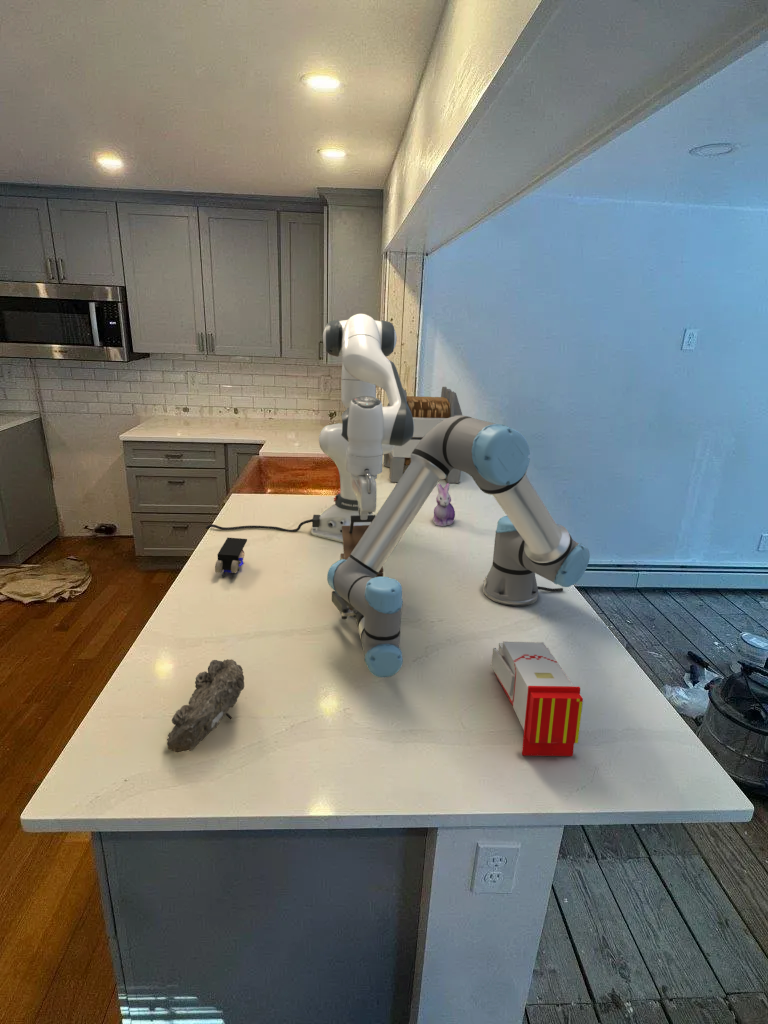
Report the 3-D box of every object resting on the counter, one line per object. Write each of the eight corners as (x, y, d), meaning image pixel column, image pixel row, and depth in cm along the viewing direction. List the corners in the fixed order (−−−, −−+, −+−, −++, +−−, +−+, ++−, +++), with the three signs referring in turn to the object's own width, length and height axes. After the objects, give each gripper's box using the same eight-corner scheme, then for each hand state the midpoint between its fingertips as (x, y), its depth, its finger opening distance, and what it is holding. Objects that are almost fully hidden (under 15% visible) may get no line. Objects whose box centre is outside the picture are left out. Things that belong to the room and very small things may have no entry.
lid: (341, 527, 151) (343, 510, 144) (377, 527, 153) (381, 509, 146) (345, 573, 143) (348, 557, 137) (383, 572, 145) (387, 556, 138)
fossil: (192, 660, 117) (244, 628, 112) (224, 691, 120) (276, 661, 115) (142, 746, 98) (202, 712, 93) (182, 779, 101) (242, 748, 96)
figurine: (440, 528, 206) (443, 489, 201) (425, 519, 214) (428, 481, 209) (461, 525, 210) (465, 486, 205) (446, 516, 219) (449, 478, 214)
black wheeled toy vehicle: (238, 584, 162) (249, 557, 175) (236, 562, 158) (247, 536, 172) (215, 584, 161) (227, 556, 175) (212, 561, 158) (225, 535, 171)
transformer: (382, 463, 289) (386, 382, 275) (445, 464, 293) (451, 384, 279) (390, 482, 257) (394, 392, 243) (460, 483, 261) (468, 394, 247)
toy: (540, 624, 127) (592, 694, 97) (535, 679, 129) (584, 763, 100) (486, 623, 126) (522, 693, 97) (482, 678, 129) (516, 762, 100)
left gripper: (383, 476, 130) (381, 531, 135) (371, 454, 149) (369, 503, 154) (356, 476, 129) (355, 532, 134) (347, 454, 148) (346, 504, 153)
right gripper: (325, 642, 128) (319, 595, 149) (421, 637, 132) (402, 591, 152) (325, 613, 125) (319, 569, 146) (423, 608, 129) (404, 566, 150)
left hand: (362, 516), depth 144 cm, fingers closed
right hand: (361, 580), depth 149 cm, fingers closed on chest, 10 cm apart
